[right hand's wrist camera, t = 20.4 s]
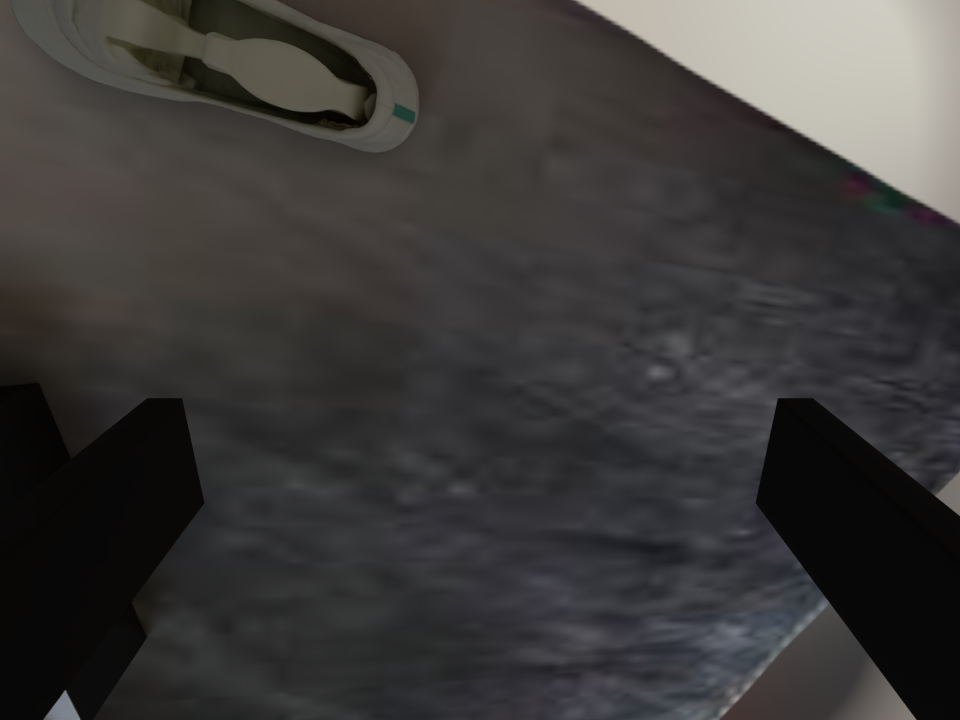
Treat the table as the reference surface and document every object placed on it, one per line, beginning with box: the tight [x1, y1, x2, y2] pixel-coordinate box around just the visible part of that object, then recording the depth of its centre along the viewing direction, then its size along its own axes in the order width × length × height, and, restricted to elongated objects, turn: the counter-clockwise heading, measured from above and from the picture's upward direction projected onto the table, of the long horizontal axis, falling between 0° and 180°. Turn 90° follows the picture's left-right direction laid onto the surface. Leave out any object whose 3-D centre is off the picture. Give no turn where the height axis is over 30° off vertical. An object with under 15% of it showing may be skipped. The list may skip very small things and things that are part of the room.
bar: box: [0, 383, 146, 720], centre depth 45 cm, size 27×5×9 cm, turn 6°
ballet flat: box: [12, 0, 419, 152], centre depth 32 cm, size 8×24×8 cm, turn 73°
